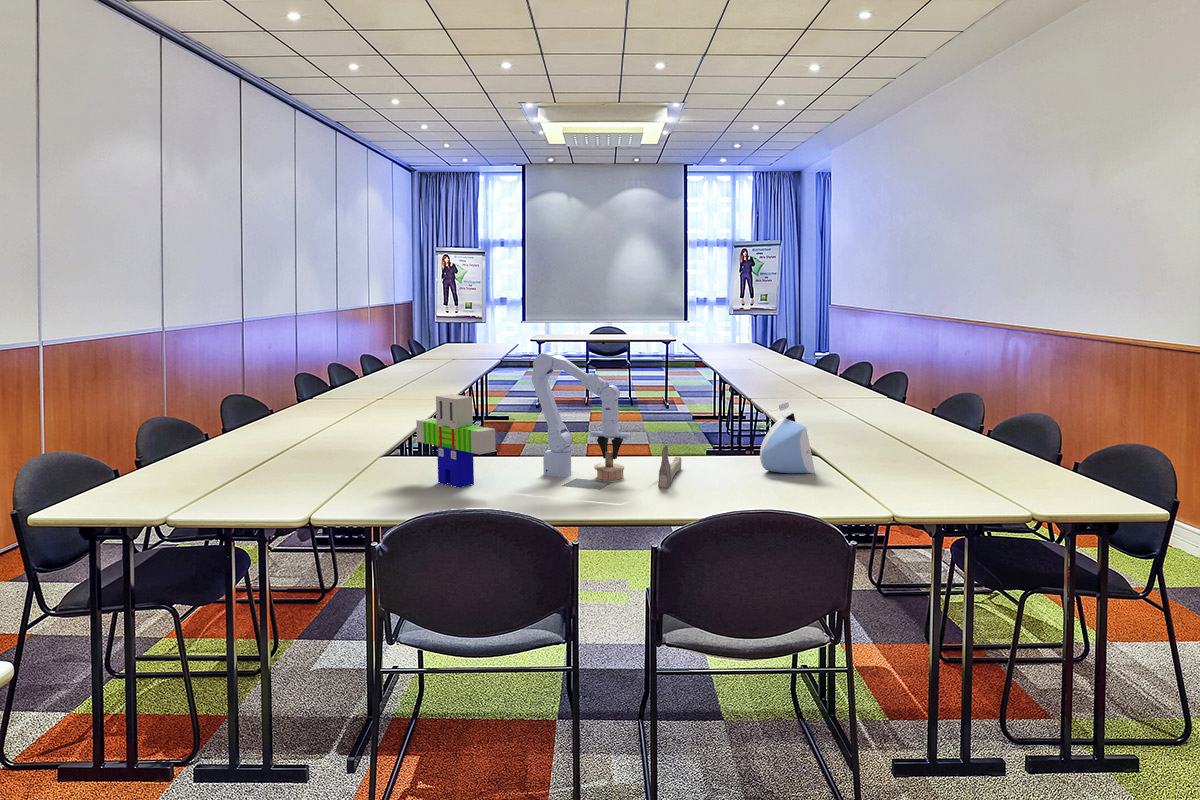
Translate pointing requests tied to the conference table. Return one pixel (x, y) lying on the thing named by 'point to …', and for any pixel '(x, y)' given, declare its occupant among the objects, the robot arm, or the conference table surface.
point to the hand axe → (667, 469)
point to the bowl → (610, 475)
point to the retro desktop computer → (786, 446)
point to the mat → (587, 484)
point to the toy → (455, 439)
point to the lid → (609, 464)
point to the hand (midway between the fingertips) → (610, 458)
